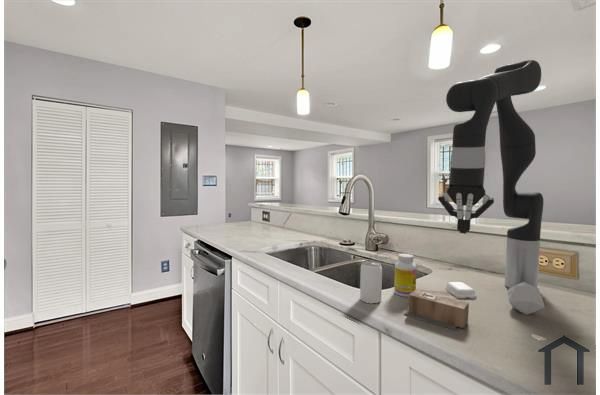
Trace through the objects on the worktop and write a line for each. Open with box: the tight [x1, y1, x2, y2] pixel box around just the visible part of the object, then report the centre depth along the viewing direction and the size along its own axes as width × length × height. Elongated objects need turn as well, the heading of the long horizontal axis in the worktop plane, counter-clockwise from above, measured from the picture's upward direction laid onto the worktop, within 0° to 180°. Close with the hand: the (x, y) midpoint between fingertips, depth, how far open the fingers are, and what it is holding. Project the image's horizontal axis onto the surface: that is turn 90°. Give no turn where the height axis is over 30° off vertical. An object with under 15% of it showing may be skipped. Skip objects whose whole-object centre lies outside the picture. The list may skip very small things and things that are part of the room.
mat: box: [403, 310, 458, 331], centre depth 86 cm, size 11×13×1 cm
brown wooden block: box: [407, 289, 470, 329], centre depth 84 cm, size 5×5×14 cm
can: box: [359, 259, 383, 304], centre depth 96 cm, size 6×6×12 cm
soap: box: [444, 281, 477, 299], centre depth 102 cm, size 9×7×3 cm
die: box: [506, 282, 546, 316], centre depth 88 cm, size 8×9×10 cm
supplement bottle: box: [393, 253, 417, 298], centre depth 101 cm, size 7×7×13 cm
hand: (463, 232), depth 79 cm, fingers closed
